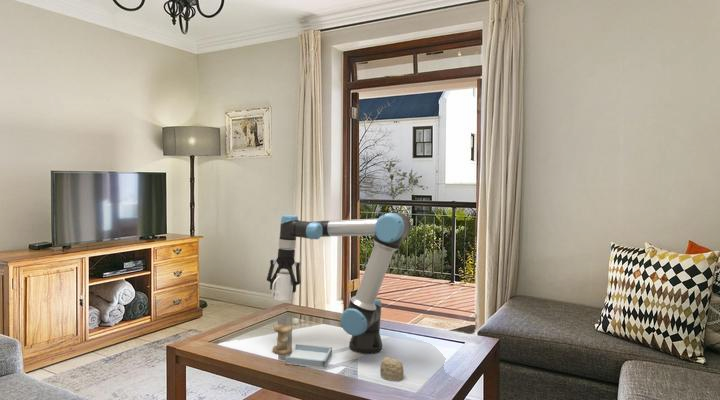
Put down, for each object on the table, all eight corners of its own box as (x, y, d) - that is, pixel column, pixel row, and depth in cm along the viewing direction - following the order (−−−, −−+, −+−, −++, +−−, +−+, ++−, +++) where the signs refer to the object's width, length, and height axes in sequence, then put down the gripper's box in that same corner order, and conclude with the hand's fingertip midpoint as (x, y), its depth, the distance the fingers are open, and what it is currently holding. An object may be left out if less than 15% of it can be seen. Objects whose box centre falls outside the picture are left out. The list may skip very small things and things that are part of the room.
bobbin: (293, 349, 197) (294, 325, 197) (288, 355, 189) (289, 330, 189) (275, 347, 198) (277, 323, 198) (269, 353, 190) (271, 328, 190)
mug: (277, 303, 198) (279, 276, 197) (264, 299, 203) (266, 272, 203) (296, 299, 207) (298, 273, 207) (283, 295, 212) (285, 270, 212)
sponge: (385, 381, 179) (372, 360, 178) (405, 368, 179) (393, 347, 179) (388, 391, 169) (375, 369, 169) (410, 377, 170) (396, 355, 170)
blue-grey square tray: (331, 354, 193) (332, 347, 193) (324, 369, 176) (324, 361, 176) (295, 350, 195) (296, 343, 195) (284, 364, 178) (285, 357, 178)
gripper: (310, 250, 207) (306, 299, 207) (267, 245, 209) (262, 293, 210) (307, 252, 199) (302, 302, 200) (262, 247, 202) (257, 297, 202)
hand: (282, 298), depth 205 cm, fingers closed on mug, 8 cm apart
